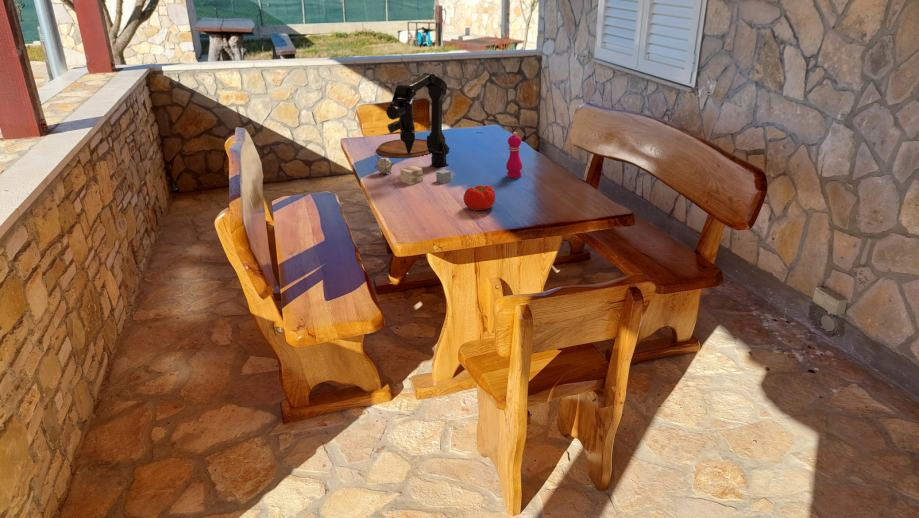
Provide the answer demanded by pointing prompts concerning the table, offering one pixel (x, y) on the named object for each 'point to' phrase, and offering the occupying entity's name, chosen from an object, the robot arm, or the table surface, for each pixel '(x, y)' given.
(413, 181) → the slab lower
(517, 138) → the pepper mill
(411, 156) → the cutting board
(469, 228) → the table surface
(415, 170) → the slab upper
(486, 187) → the tomato
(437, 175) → the cube
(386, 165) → the spiky ball
